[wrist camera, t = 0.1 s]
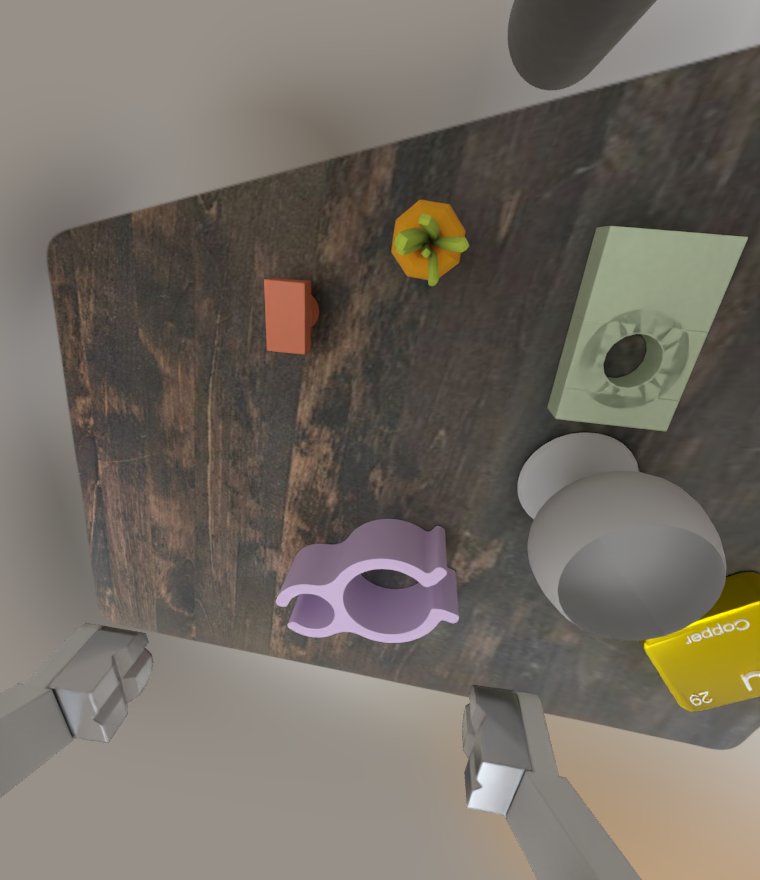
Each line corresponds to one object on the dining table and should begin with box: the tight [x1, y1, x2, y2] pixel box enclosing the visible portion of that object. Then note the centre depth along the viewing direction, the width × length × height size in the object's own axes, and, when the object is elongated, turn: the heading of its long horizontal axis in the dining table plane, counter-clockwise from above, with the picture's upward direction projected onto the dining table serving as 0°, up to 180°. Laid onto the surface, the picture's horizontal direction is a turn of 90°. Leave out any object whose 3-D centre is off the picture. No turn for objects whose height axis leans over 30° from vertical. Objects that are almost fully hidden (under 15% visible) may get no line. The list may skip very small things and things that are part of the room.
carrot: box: [391, 200, 469, 286], centre depth 29 cm, size 5×5×15 cm
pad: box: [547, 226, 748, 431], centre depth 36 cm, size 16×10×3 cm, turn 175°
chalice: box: [517, 432, 726, 641], centre depth 37 cm, size 14×14×15 cm
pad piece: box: [264, 277, 319, 354], centre depth 37 cm, size 6×4×5 cm, turn 175°
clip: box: [276, 519, 459, 643], centre depth 49 cm, size 20×12×7 cm, turn 105°
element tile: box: [639, 572, 760, 712], centre depth 48 cm, size 15×15×5 cm
